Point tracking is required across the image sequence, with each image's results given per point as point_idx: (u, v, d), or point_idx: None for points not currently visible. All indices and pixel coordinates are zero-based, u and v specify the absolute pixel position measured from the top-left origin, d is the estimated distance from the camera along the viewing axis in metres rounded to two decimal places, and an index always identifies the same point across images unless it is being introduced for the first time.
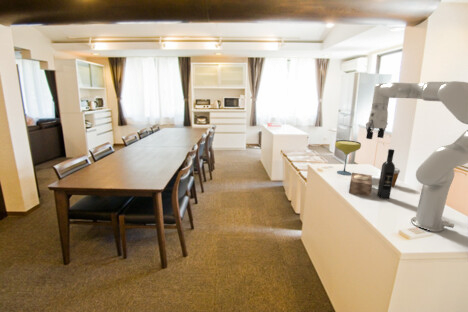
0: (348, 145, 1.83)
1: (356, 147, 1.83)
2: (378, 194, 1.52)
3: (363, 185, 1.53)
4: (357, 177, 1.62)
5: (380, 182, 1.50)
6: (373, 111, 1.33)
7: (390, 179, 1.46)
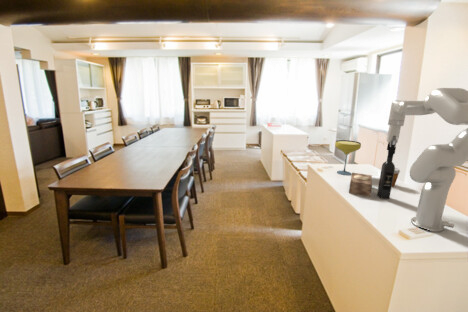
0: (348, 145, 1.83)
1: (356, 147, 1.83)
2: (378, 194, 1.52)
3: (363, 185, 1.53)
4: (357, 177, 1.62)
5: (380, 182, 1.50)
6: None
7: (390, 179, 1.46)
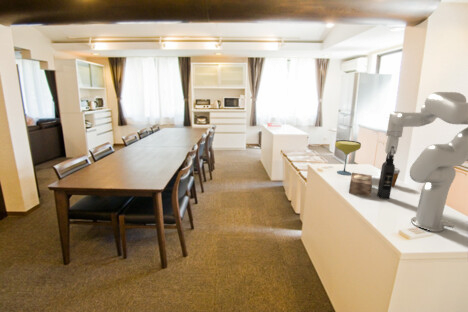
0: (348, 145, 1.83)
1: (356, 147, 1.83)
2: (378, 194, 1.52)
3: (363, 185, 1.53)
4: (357, 177, 1.62)
5: (380, 182, 1.50)
6: None
7: (390, 179, 1.46)
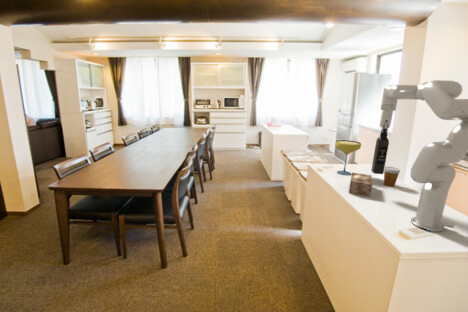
0: (348, 145, 1.83)
1: (356, 147, 1.83)
2: (372, 169, 1.53)
3: (363, 185, 1.53)
4: (357, 177, 1.62)
5: (374, 157, 1.51)
6: None
7: (384, 153, 1.47)
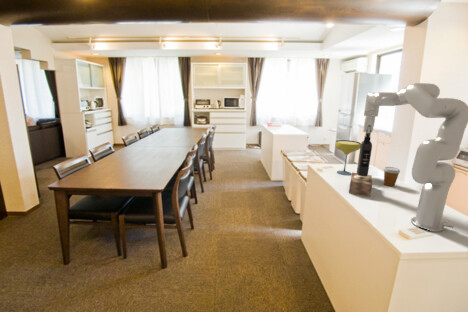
0: (348, 145, 1.83)
1: (356, 147, 1.83)
2: (357, 172, 1.61)
3: (363, 185, 1.53)
4: (357, 177, 1.62)
5: (359, 160, 1.59)
6: None
7: (368, 157, 1.55)
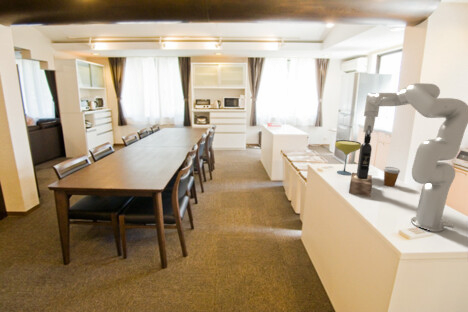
0: (348, 145, 1.83)
1: (356, 147, 1.83)
2: (357, 174, 1.61)
3: (363, 185, 1.53)
4: (357, 177, 1.62)
5: (359, 163, 1.60)
6: None
7: (367, 159, 1.55)
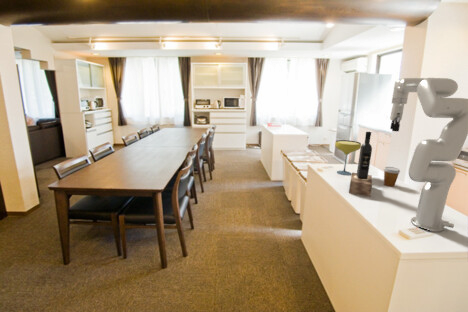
0: (348, 145, 1.83)
1: (356, 147, 1.83)
2: (357, 174, 1.61)
3: (363, 185, 1.53)
4: (357, 177, 1.62)
5: (359, 163, 1.59)
6: None
7: (367, 160, 1.55)
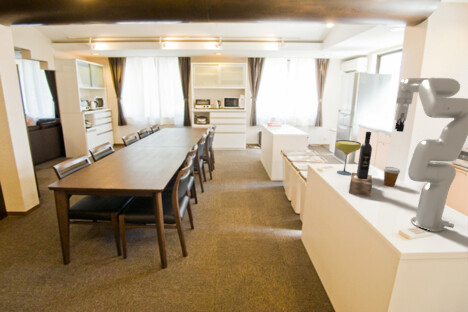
0: (348, 145, 1.83)
1: (356, 147, 1.83)
2: (357, 174, 1.61)
3: (363, 185, 1.53)
4: (357, 177, 1.62)
5: (359, 163, 1.59)
6: None
7: (367, 160, 1.55)
